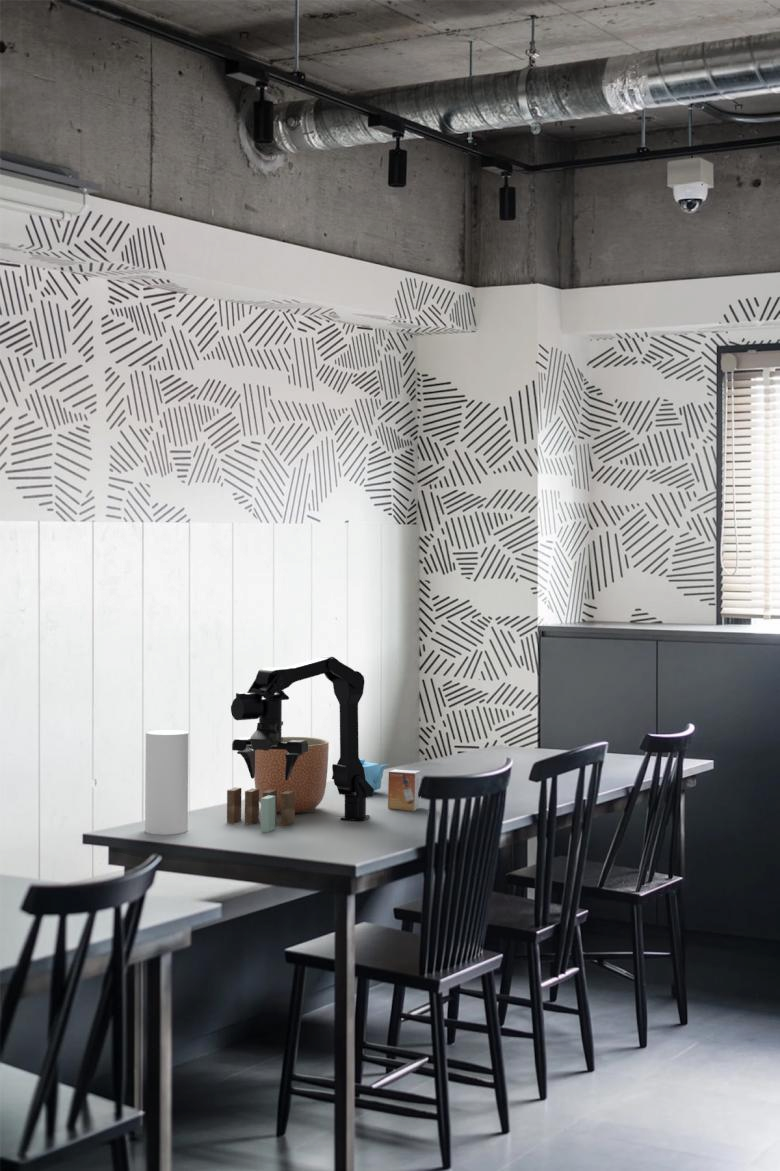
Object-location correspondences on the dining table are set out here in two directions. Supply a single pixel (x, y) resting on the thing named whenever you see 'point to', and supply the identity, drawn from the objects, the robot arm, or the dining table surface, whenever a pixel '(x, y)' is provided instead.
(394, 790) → the small box
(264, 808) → the domino
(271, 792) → the domino
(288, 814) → the domino
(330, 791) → the dining table surface
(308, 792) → the planter
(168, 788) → the tall pillar cylinder
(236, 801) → the domino
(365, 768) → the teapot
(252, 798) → the domino
